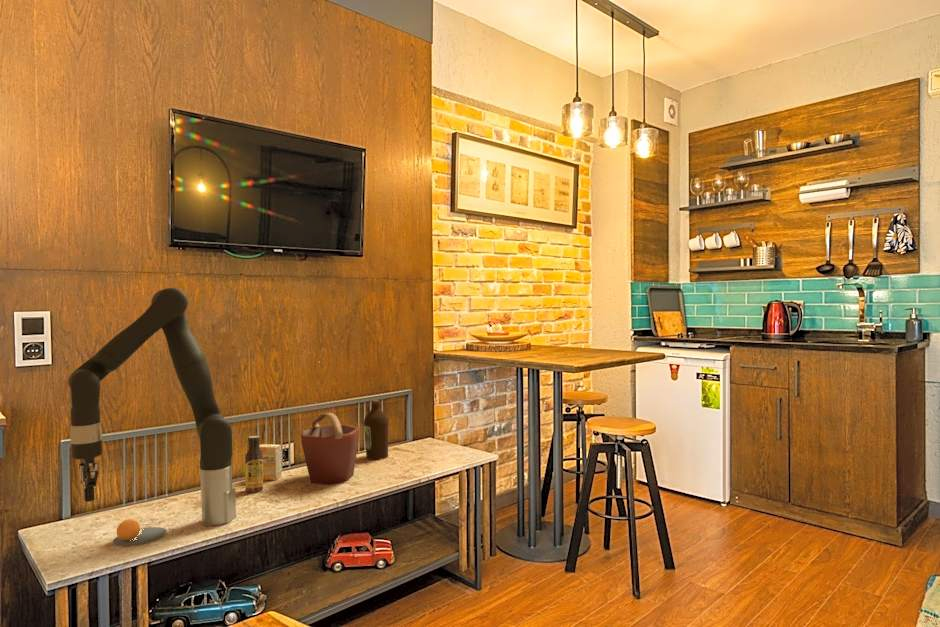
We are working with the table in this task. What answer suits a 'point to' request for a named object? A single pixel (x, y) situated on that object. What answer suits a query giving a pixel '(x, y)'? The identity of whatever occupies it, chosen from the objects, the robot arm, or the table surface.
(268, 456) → the supplement box
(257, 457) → the sauce bottle
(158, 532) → the dark grey flat disc
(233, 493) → the robot arm
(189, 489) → the table surface
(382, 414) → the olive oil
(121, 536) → the ball
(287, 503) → the table surface
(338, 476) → the bucket
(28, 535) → the table surface
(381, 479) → the table surface
